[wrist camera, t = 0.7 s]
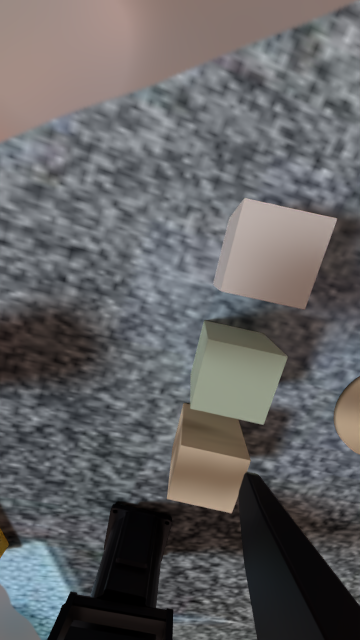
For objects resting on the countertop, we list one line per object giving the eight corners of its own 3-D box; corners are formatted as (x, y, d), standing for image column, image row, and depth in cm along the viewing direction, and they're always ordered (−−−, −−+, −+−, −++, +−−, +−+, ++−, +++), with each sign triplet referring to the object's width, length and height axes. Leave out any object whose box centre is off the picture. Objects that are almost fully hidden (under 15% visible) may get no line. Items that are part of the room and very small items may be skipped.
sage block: (245, 385, 20) (263, 424, 15) (190, 373, 20) (190, 408, 15) (262, 333, 18) (287, 356, 14) (203, 320, 18) (208, 339, 14)
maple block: (222, 457, 21) (231, 513, 17) (172, 446, 21) (167, 498, 17) (236, 414, 20) (250, 460, 15) (183, 402, 20) (180, 445, 15)
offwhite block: (273, 298, 18) (304, 309, 13) (212, 284, 18) (220, 291, 13) (294, 232, 16) (337, 218, 12) (229, 218, 16) (244, 198, 12)
